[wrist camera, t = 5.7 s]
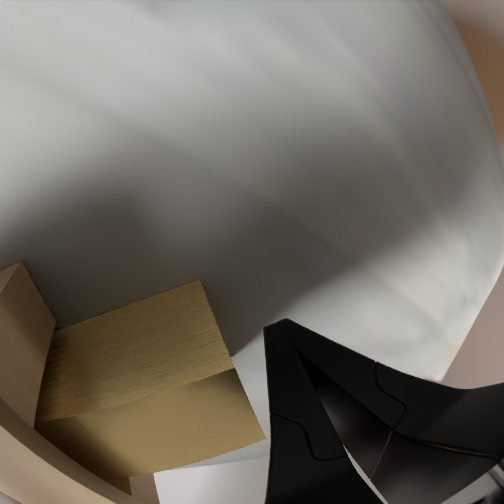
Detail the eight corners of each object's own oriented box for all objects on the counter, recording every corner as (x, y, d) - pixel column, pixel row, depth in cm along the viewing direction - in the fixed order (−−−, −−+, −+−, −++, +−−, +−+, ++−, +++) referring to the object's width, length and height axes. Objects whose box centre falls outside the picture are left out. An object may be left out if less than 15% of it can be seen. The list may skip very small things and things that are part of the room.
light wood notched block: (21, 260, 7) (-44, 380, 3) (145, 432, 11) (164, 524, 7) (-54, 298, 6) (-109, 395, 2) (75, 446, 10) (80, 529, 6)
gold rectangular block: (199, 278, 9) (234, 367, 6) (230, 358, 11) (266, 438, 7) (-54, 368, 6) (-77, 432, 3) (-4, 420, 8) (-13, 483, 5)
